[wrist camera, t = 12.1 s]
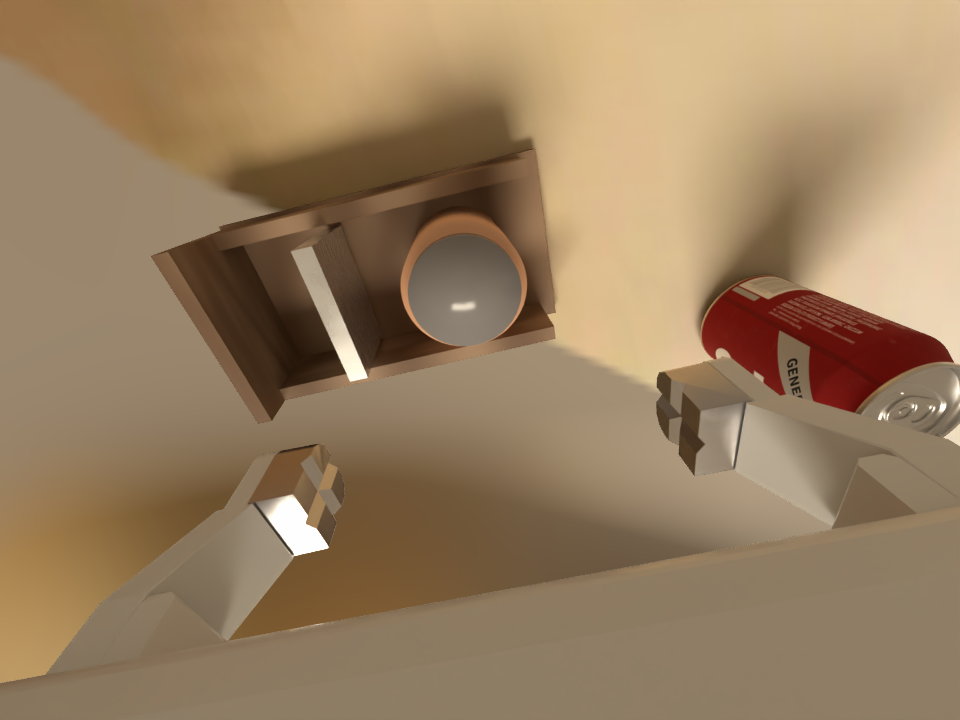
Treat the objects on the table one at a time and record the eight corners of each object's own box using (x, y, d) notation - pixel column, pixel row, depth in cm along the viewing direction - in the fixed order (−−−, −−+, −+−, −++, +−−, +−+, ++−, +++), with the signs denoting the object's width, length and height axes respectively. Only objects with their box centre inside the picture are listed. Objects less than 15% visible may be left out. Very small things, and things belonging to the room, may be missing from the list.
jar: (503, 199, 22) (525, 217, 16) (512, 296, 25) (533, 344, 19) (401, 213, 22) (384, 237, 16) (422, 309, 25) (413, 361, 19)
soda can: (722, 263, 26) (909, 340, 16) (805, 281, 27) (1030, 364, 17) (679, 350, 29) (809, 463, 19) (755, 363, 30) (918, 476, 20)
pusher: (340, 225, 22) (311, 246, 17) (382, 334, 26) (367, 377, 21) (297, 235, 22) (256, 259, 17) (345, 343, 26) (322, 388, 21)
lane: (532, 149, 22) (563, 149, 16) (553, 309, 27) (583, 353, 21) (224, 225, 23) (148, 251, 17) (299, 367, 27) (260, 426, 22)
